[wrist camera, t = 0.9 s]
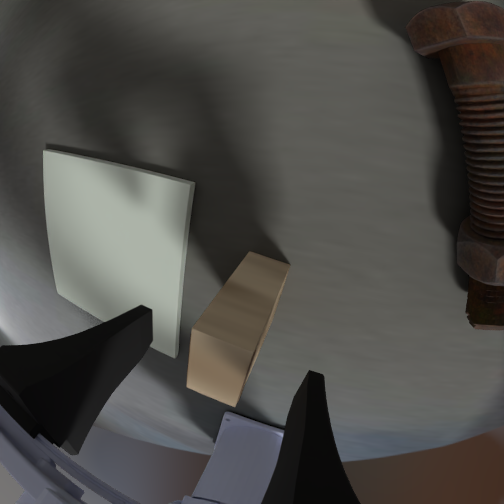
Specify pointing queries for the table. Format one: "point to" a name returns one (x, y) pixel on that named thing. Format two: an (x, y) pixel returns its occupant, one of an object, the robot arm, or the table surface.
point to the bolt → (475, 138)
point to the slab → (235, 328)
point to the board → (118, 239)
